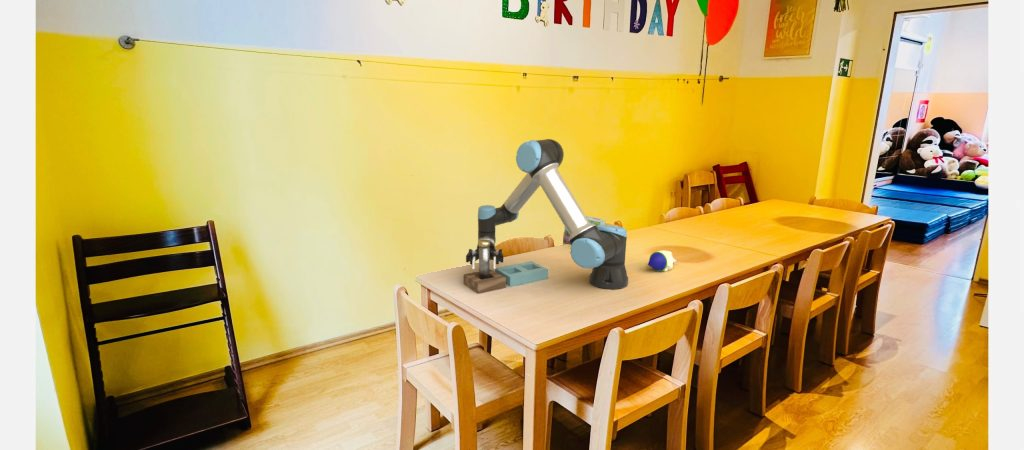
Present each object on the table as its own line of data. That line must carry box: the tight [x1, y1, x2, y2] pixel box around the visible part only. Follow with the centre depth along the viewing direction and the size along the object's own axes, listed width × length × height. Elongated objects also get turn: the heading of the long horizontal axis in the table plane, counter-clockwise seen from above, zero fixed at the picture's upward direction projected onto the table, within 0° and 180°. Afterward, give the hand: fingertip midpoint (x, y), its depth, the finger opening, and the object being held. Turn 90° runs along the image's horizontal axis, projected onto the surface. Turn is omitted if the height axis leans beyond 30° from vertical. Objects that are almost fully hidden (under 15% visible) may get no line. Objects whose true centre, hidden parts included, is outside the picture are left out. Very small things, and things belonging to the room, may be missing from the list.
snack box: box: [563, 215, 607, 245], centre depth 246 cm, size 21×6×15 cm, turn 47°
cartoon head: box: [647, 250, 678, 273], centre depth 212 cm, size 9×10×20 cm
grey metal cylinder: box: [477, 240, 491, 280], centre depth 191 cm, size 4×4×18 cm
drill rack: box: [494, 261, 549, 288], centre depth 202 cm, size 12×18×4 cm, turn 122°
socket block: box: [463, 268, 507, 295], centre depth 193 cm, size 12×12×4 cm
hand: (483, 265), depth 186 cm, fingers open, 7 cm apart
